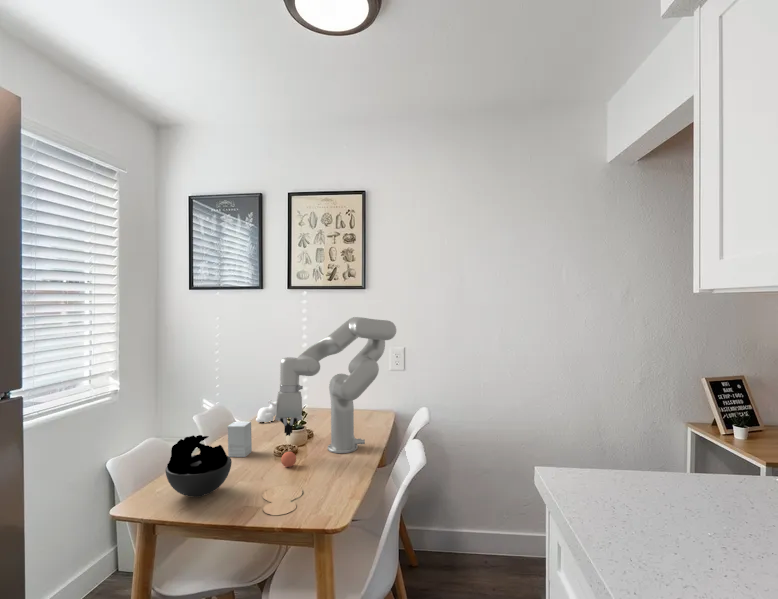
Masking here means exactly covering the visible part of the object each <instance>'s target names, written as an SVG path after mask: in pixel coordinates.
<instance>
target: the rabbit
mask: <svg viewBox="0 0 778 599" xmlns="http://www.w3.org/2000/svg"><path fill="white" fill-rule="evenodd" d="M276 401H277V400H276ZM276 401H272V400H271V399H270V398H269V400H268V404H269V406H267V407H266V406H264V407H261V408H259V410H258V411H257V417H256V418H255V422H257V423H259V422H269V421H273V419H275V418H274V417H276Z"/></svg>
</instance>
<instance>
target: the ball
mask: <svg viewBox="0 0 778 599" xmlns="http://www.w3.org/2000/svg"><path fill="white" fill-rule="evenodd" d="M280 461H281V464H282V466H284V467H285V468H291V467H293V466H294V465H295V464H296V462H297V456H296V454H295V453H294V452H293V451H286V452H284V453H283V454H282V456H281V459H280Z"/></svg>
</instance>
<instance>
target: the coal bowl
mask: <svg viewBox="0 0 778 599" xmlns="http://www.w3.org/2000/svg"><path fill="white" fill-rule="evenodd" d="M209 437H210V436H207V435H204V436H203V435H202V434H198V435H194V434H193V435H191V436H186V437H185V436H184V439H182V438H181V439H179V440H178V441H177V442H176V443H174V445H172V447H171V449H170V451H171V452H170V459H169V462H168V463H167V465H166V466H165V477H166V479H167V481H168V483H169V484H170V487H171V488H172V489H173V490H174V491H176V492H177V493H179V494H180V495H183V496H186V497H192V498H199V497H203V496H207V495H209V494H211V493H213V492H214V491H216V490H218V489H219V488H220V487H221V486H222V485H223V484H224V482H225V480H226V479H227V478H228V477H229V474H230V471H231V468H232V462H233V460H232V457H229V456H228V455H227V453H226V451H225V449H224V447H223V446H222V445H221V444H219V445H217V446H216V445H215V446H211V445H205V444H204V443H202V442H203V441H205V440H206V439H209ZM196 449H199V453H198V454H193V453H194V451H195V450H196Z"/></svg>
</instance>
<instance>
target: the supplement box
mask: <svg viewBox="0 0 778 599" xmlns="http://www.w3.org/2000/svg"><path fill="white" fill-rule="evenodd" d="M227 450H228V451H227V452H228V453H227V454H228V455H227V456H229V457H230V458H246V457H247V456H248V455H249V454H251V453H252V452H253V451H252V450H253V449H252V421H234V422H232V423H230V424H229V425H227ZM251 451H252V452H251Z"/></svg>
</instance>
